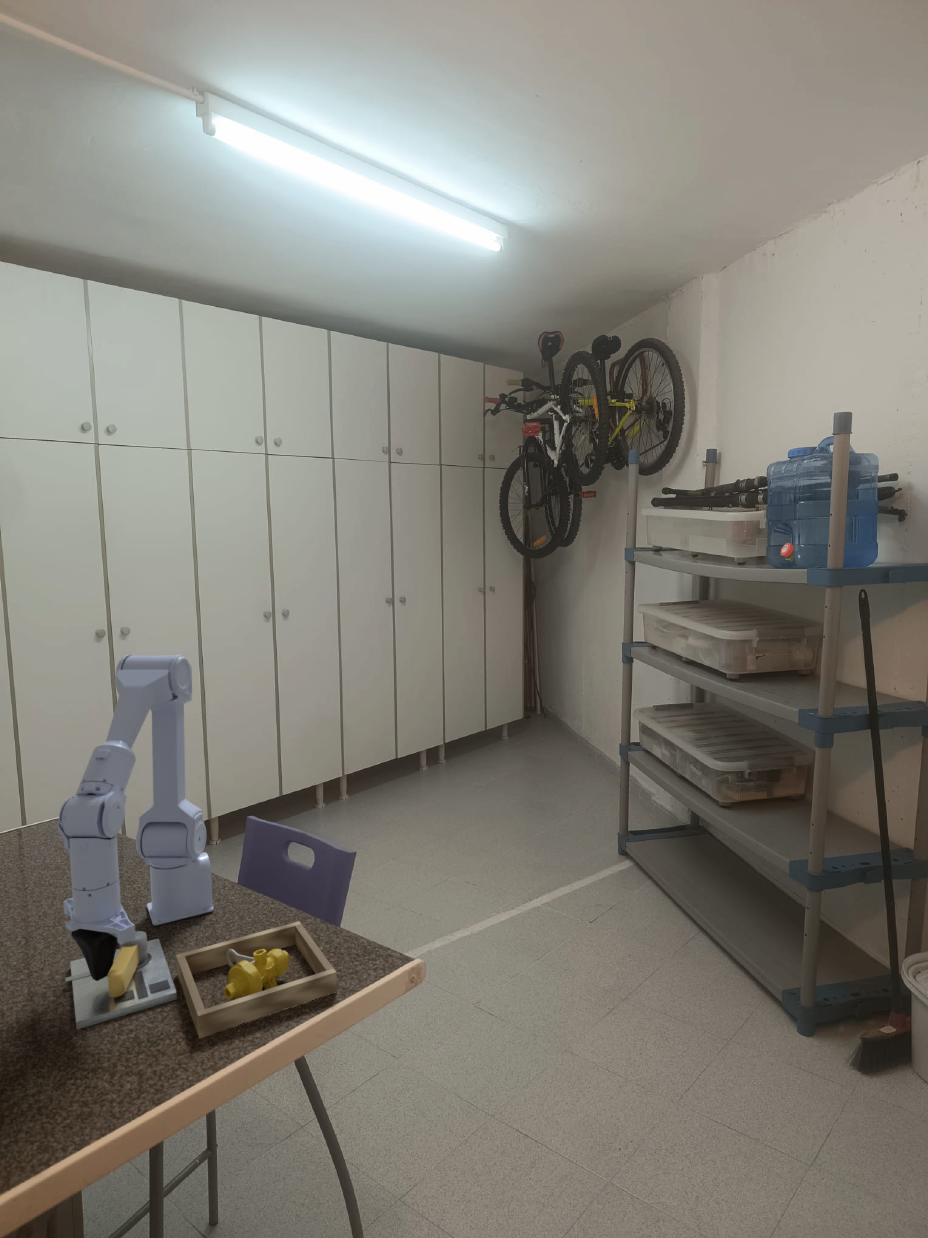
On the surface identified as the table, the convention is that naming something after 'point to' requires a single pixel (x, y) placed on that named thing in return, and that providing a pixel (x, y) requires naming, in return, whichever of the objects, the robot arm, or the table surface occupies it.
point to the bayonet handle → (127, 964)
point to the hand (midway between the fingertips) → (101, 976)
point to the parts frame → (262, 1001)
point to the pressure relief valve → (254, 972)
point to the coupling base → (142, 992)
